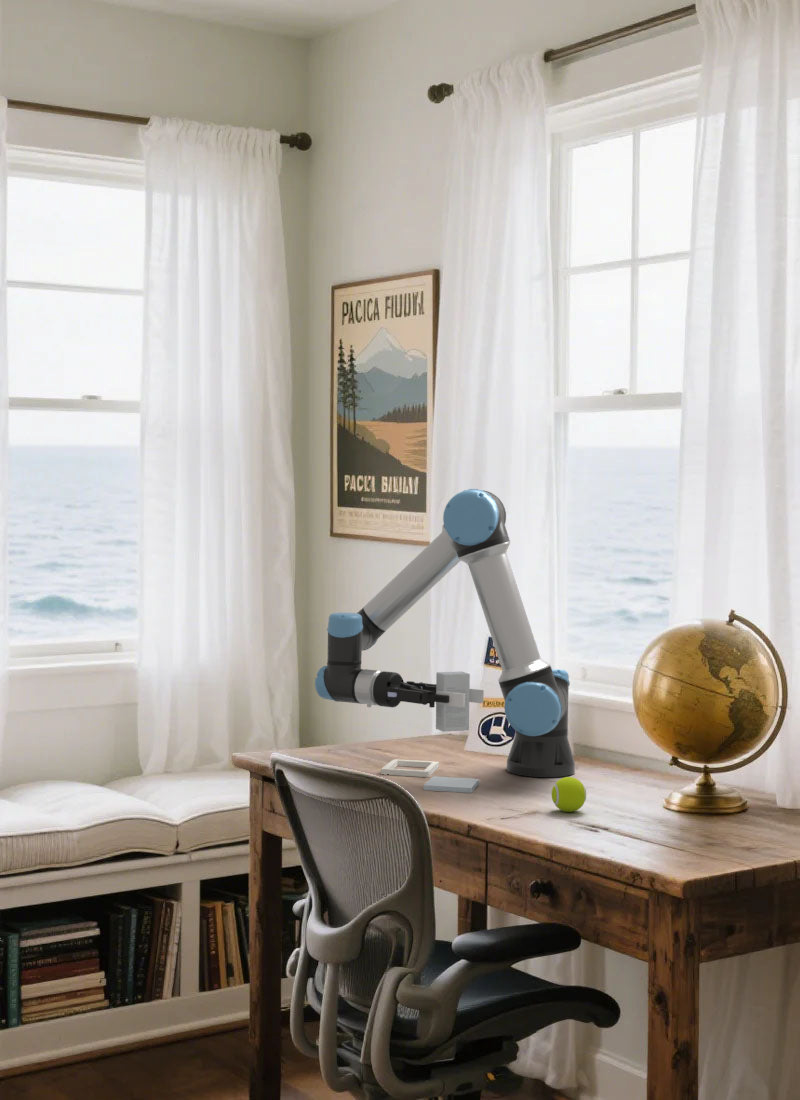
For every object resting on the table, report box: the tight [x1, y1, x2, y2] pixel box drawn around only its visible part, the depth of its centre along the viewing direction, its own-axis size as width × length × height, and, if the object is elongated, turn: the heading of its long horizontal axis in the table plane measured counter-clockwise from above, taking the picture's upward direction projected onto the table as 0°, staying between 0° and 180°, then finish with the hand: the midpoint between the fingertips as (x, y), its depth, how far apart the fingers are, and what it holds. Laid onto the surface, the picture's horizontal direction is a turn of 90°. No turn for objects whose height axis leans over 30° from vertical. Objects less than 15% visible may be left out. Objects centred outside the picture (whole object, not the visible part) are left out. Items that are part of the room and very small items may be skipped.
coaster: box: [423, 775, 480, 794], centre depth 293 cm, size 10×10×1 cm
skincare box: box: [435, 671, 471, 732], centre depth 293 cm, size 6×4×12 cm
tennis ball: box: [551, 776, 587, 813], centre depth 271 cm, size 7×7×7 cm
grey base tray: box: [380, 758, 440, 778], centre depth 310 cm, size 10×12×1 cm
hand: (473, 698), depth 290 cm, fingers closed on skincare box, 7 cm apart
